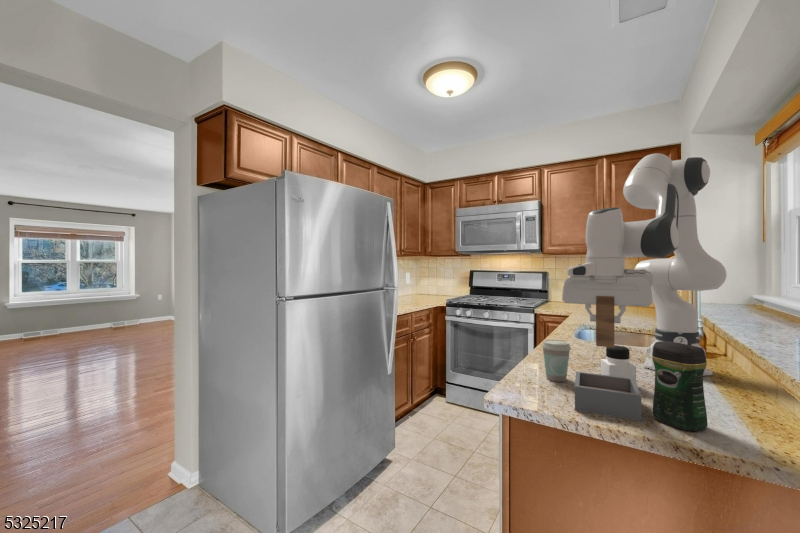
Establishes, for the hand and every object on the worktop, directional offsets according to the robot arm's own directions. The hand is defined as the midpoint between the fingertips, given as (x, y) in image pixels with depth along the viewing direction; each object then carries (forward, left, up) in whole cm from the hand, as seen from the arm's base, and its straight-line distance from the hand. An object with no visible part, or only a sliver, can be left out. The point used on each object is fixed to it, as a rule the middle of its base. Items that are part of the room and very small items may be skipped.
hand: (604, 322), depth 91 cm
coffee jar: (+4, +15, -22) cm, 27 cm away
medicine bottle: (-19, +4, -22) cm, 29 cm away
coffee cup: (-17, -13, -22) cm, 31 cm away
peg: (0, 0, -6) cm, 6 cm away
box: (0, 0, -22) cm, 22 cm away
